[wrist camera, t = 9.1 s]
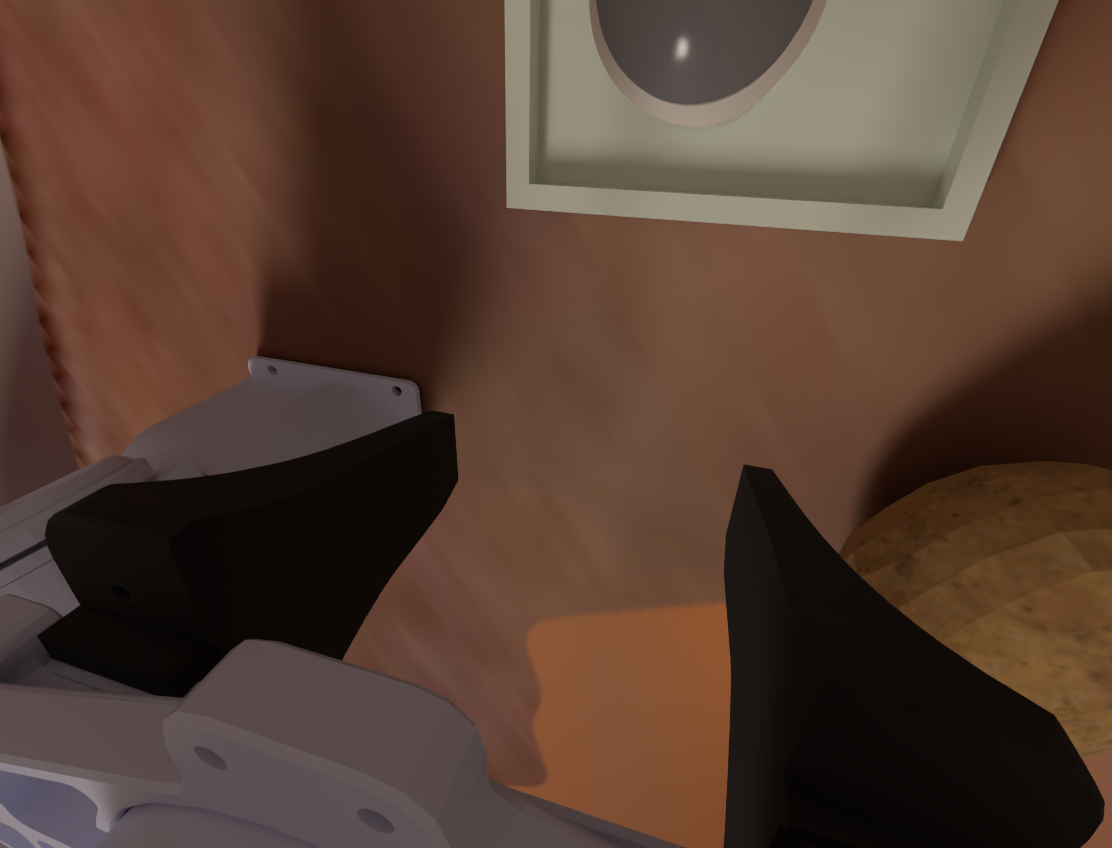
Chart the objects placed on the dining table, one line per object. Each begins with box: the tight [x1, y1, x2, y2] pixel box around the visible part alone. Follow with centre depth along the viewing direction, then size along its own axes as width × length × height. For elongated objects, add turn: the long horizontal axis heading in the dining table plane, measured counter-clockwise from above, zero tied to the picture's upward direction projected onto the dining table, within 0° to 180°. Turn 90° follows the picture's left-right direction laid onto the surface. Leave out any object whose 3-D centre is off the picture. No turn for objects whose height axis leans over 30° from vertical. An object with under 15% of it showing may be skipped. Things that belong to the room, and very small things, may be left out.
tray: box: [505, 0, 1059, 241], centre depth 15 cm, size 14×10×2 cm
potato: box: [839, 461, 1112, 759], centre depth 18 cm, size 10×14×8 cm
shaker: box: [589, 0, 827, 130], centre depth 12 cm, size 5×5×7 cm
